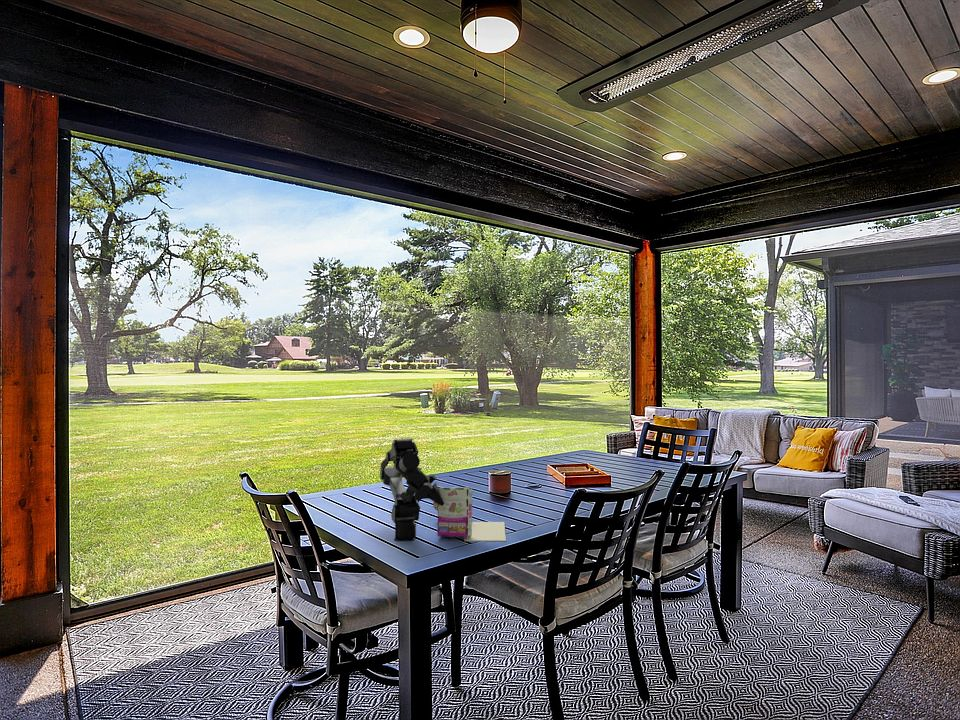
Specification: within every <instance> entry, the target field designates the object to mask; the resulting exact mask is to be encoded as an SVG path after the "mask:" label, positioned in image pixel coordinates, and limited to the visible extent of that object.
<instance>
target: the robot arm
mask: <svg viewBox="0 0 960 720" xmlns="http://www.w3.org/2000/svg"><path fill="white" fill-rule="evenodd" d="M418 455H419V449H418V446H417V444H416V443H415V441H413V438H411V437H410V438H394V440H393V441H392V442H391V449H390V450H387V451H386V452H385V457H384V460H382V462H381V463H380V469H379V479H380V480H381V482H382V484H383V485H385V486H387V487H389V488H390V491H391V494H392V496H393V499H394V504H393V506H392V509H391V514H390V515H391V516H390V517H391V520H392V522H393V523H394V532H395V533H394V539H393V540H394V541H395V542H396V541H401V542H403V541H405V542H407V541H408V542H409V541H414V540H415V538H416V536H417V523H415V521H419V519H420V510H421V506H420V505H419V504H420V501H422V500H426V499H427V500H428V499H429V500H430V501H433V502H436V503H437V504H439V505H441V506H443V505H444V502H443V499H442V497H441V494H440V492H439V489H438V488H439V487H438V484H437V482H434V481H436V480H437V477H436V475H434V474H433V473H430V474H428V475H426V474H425V473H424V472H423V471H422V468H421V467H420V463H421V462H420V461H421V460H420V457H419V456H418ZM389 462H392V464H393V466H388V465H389ZM403 478H404V479H405V480H406V481H405V483H406V485H408V486H407V488H405V486H404V483H403ZM433 482H434V484H432V483H433Z"/></svg>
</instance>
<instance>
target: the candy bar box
mask: <svg viewBox="0 0 960 720" xmlns="http://www.w3.org/2000/svg"><path fill="white" fill-rule="evenodd" d="M438 489H439V492H440V494H441V497H442V499H443V502H444V505H443V506H441V505H439V504H438V511H437V534H436V535H437V537H441V538H443V537H445V538H447V537H448V538H463V539H465V538H468V537H471V536H472V522H473V487H438Z"/></svg>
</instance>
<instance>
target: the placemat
mask: <svg viewBox="0 0 960 720" xmlns="http://www.w3.org/2000/svg"><path fill="white" fill-rule="evenodd" d="M505 525H506V524H505V521H472V536H471V537H468V538H463V539H464V542H506V541H507V538H506V526H505Z"/></svg>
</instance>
